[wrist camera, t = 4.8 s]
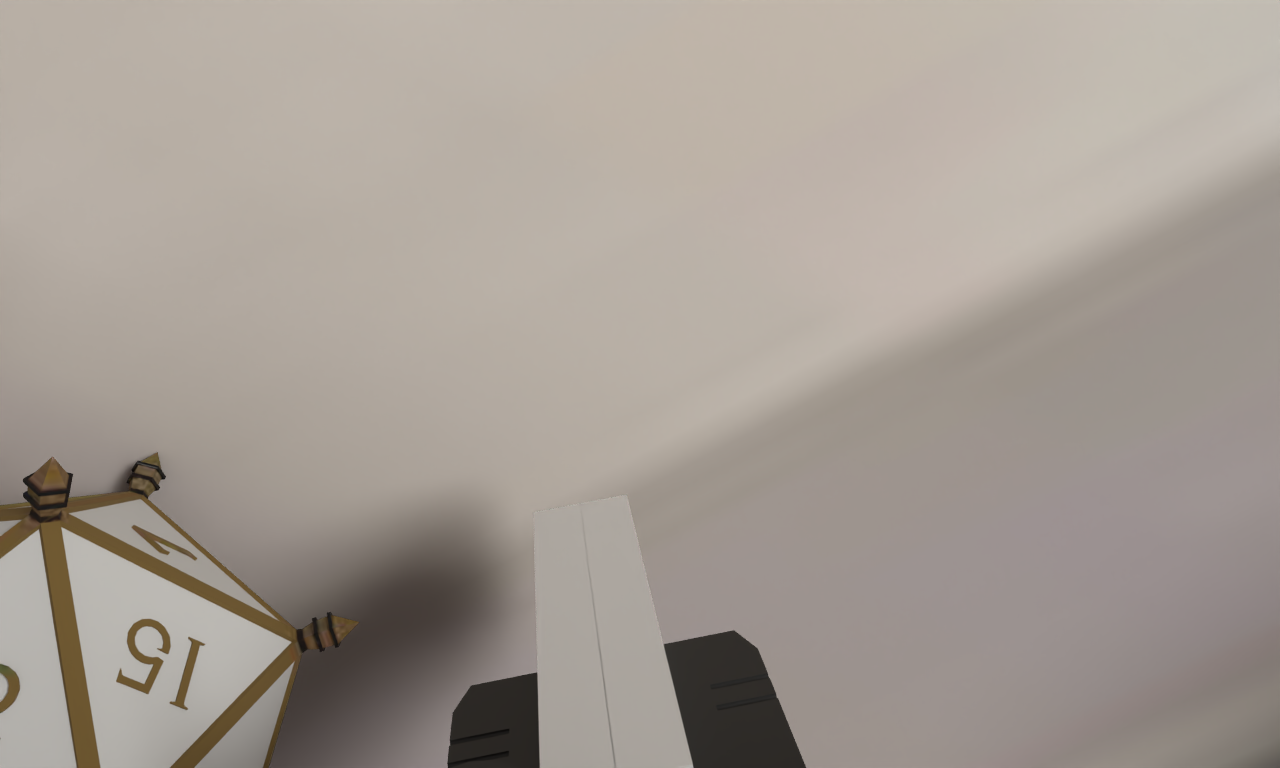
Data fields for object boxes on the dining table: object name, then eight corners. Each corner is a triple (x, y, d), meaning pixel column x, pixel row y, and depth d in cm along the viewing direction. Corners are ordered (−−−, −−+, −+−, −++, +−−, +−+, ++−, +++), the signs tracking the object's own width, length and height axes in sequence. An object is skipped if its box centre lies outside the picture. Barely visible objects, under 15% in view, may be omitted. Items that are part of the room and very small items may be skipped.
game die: (209, 596, 23) (-10, 1144, 17) (-196, 394, 18) (-720, 1078, 12) (500, 508, 18) (341, 1219, 12) (66, 201, 13) (-573, 1164, 7)
